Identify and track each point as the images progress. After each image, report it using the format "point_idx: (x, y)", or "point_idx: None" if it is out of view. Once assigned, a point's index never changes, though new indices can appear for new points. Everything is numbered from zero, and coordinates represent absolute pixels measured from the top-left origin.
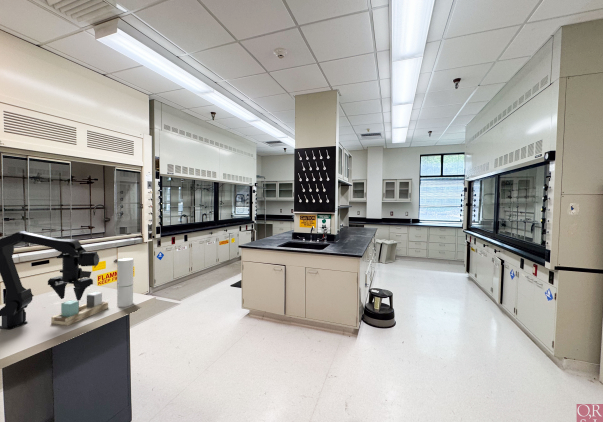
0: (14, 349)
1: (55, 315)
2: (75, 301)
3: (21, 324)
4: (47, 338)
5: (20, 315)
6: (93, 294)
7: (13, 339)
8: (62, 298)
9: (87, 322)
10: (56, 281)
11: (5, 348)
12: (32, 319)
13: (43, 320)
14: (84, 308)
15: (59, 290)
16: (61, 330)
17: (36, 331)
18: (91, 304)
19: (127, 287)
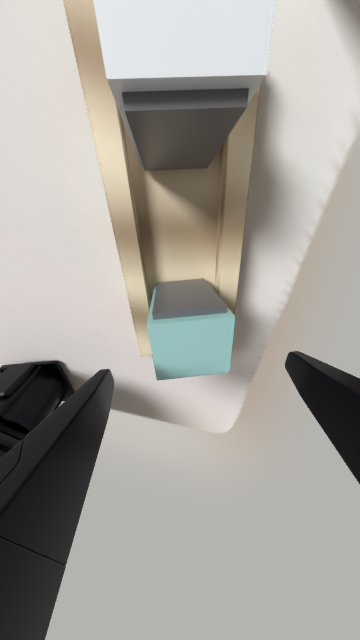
0: (216, 425)
1: (138, 342)
2: (216, 329)
3: (65, 377)
4: (239, 389)
5: (37, 409)
6: (211, 27)
7: (161, 412)
8: (110, 380)
9: (274, 292)
10: None
11: (193, 428)
12: (25, 338)
13: (80, 331)
14: (133, 180)
15: (66, 519)
16: (233, 357)
17: None
18: (193, 157)
19: None
